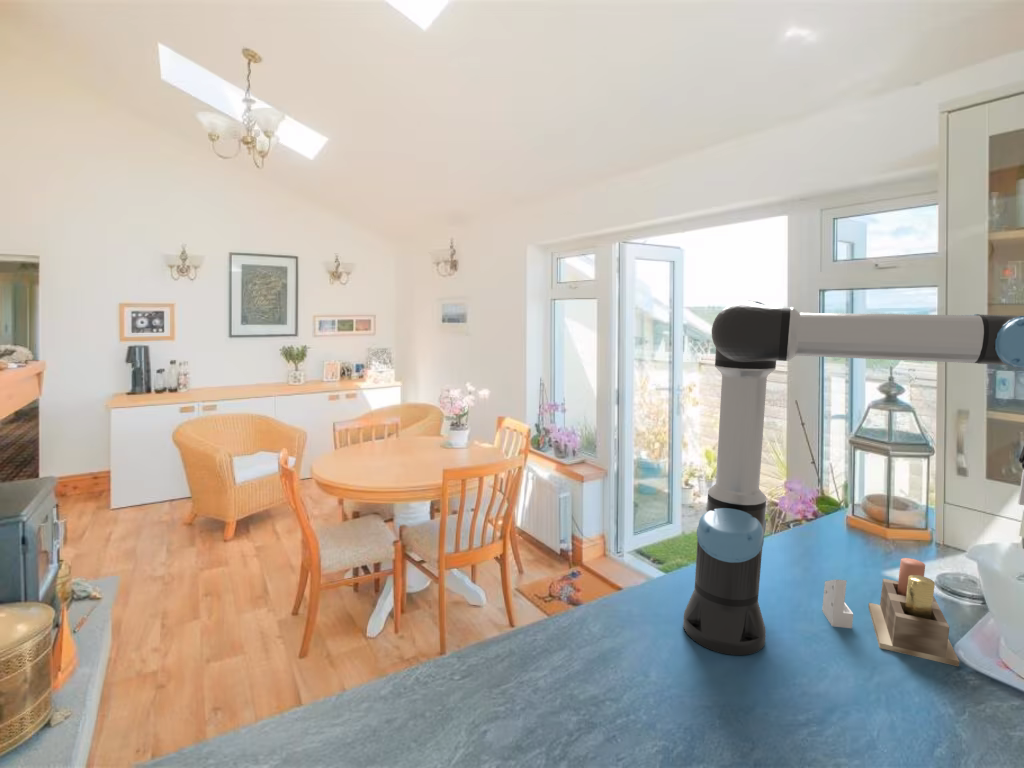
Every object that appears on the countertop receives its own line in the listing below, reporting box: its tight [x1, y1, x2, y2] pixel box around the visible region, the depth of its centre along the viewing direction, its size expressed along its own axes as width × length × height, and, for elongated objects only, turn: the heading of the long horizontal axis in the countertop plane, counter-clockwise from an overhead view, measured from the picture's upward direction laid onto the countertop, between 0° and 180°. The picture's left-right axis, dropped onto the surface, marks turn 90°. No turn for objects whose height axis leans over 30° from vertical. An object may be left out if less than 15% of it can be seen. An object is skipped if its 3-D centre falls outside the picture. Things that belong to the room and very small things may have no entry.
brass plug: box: [904, 575, 936, 619], centre depth 104 cm, size 4×4×8 cm
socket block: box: [868, 578, 960, 667], centre depth 108 cm, size 12×16×7 cm
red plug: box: [897, 557, 926, 596], centre depth 111 cm, size 4×4×8 cm
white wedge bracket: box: [821, 579, 854, 629], centre depth 113 cm, size 4×10×9 cm, turn 169°
